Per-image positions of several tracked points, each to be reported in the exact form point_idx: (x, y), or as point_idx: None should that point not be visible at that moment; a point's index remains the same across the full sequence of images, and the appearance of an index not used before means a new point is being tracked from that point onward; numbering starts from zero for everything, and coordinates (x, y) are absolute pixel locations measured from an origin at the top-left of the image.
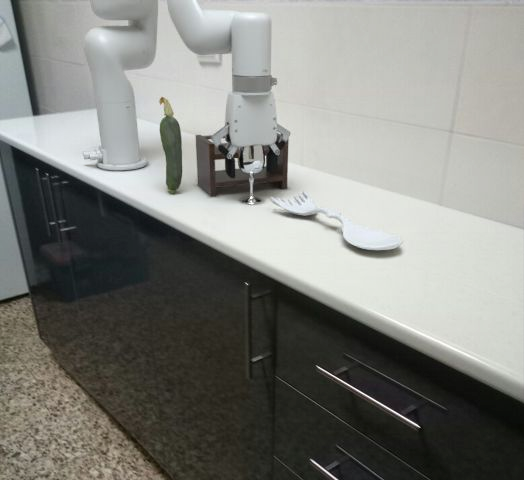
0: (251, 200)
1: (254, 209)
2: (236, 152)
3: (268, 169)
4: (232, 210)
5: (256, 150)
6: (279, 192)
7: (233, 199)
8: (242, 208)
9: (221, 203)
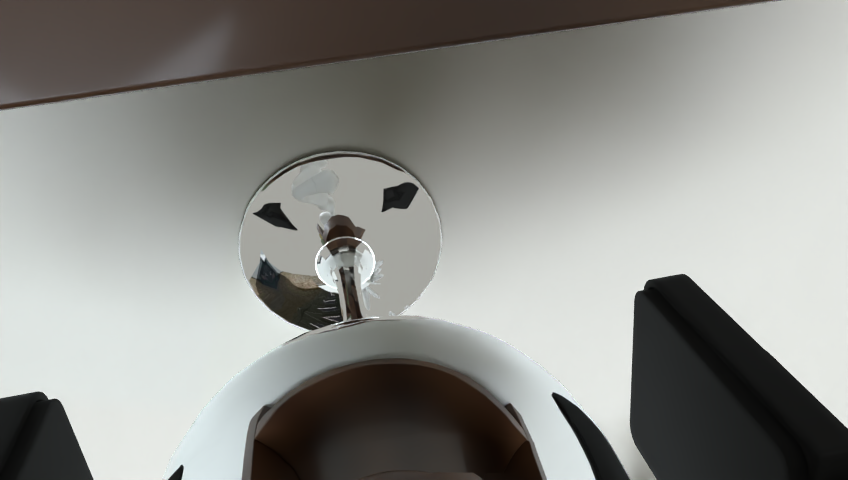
0: (333, 303)
1: None
2: (159, 74)
3: (649, 350)
4: (124, 455)
5: None
6: None
7: (165, 156)
8: None
9: (21, 266)
